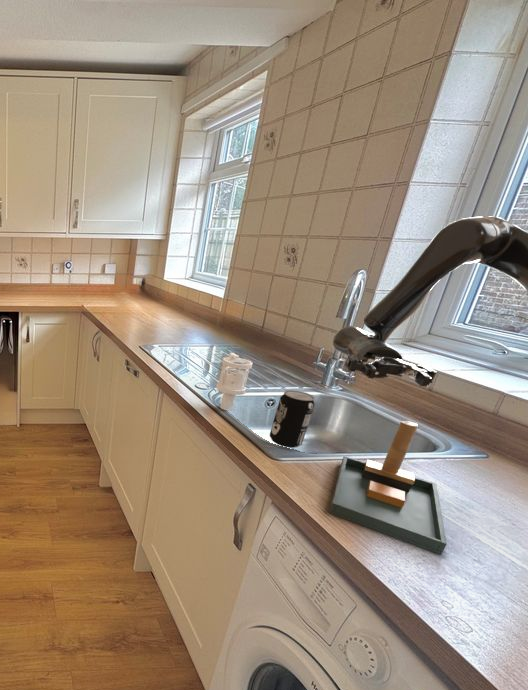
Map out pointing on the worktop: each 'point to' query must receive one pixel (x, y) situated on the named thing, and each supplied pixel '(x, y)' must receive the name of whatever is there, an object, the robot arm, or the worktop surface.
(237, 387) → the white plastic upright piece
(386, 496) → the orange wooden block
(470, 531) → the worktop surface
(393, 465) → the brush
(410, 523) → the tray
